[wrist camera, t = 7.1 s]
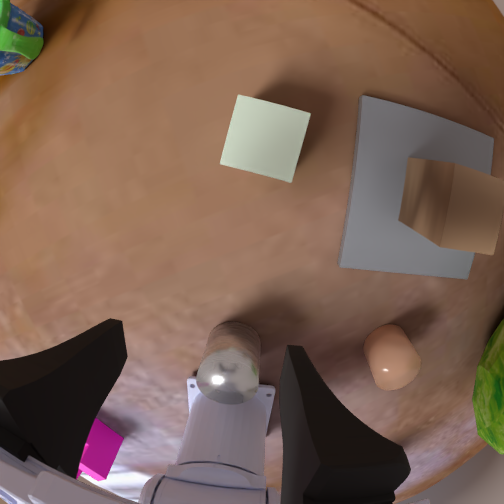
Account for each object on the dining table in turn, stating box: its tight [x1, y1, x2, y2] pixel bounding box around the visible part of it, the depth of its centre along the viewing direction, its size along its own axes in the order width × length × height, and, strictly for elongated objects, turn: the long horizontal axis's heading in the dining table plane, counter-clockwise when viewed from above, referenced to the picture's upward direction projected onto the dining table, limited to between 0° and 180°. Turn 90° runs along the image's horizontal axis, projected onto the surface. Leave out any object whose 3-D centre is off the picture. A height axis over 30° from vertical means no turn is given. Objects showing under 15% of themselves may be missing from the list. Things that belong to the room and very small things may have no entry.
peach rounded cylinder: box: [363, 324, 421, 390], centre depth 22 cm, size 4×4×4 cm
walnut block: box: [398, 157, 504, 255], centre depth 15 cm, size 4×4×6 cm
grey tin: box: [196, 322, 261, 405], centre depth 22 cm, size 4×4×5 cm
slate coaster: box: [338, 95, 494, 279], centre depth 19 cm, size 12×12×1 cm
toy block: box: [76, 418, 124, 481], centre depth 29 cm, size 15×6×8 cm, turn 133°
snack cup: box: [0, 0, 43, 75], centre depth 13 cm, size 11×8×7 cm
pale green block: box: [220, 95, 311, 183], centre depth 17 cm, size 4×4×4 cm
